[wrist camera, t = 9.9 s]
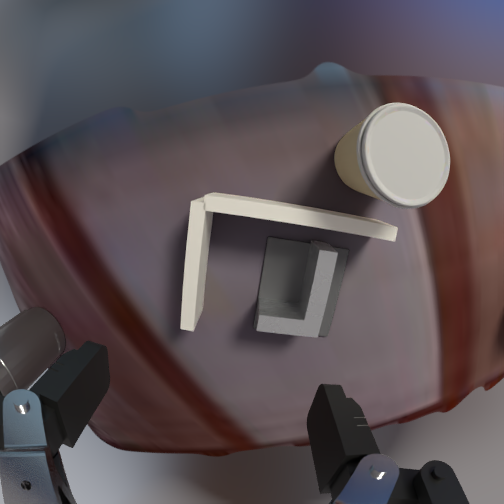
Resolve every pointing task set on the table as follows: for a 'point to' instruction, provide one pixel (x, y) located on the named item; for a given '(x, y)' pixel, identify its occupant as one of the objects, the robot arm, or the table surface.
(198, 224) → the corner wall
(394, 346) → the table surface
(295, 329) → the bracket
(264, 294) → the mat
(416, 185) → the coffee cup
